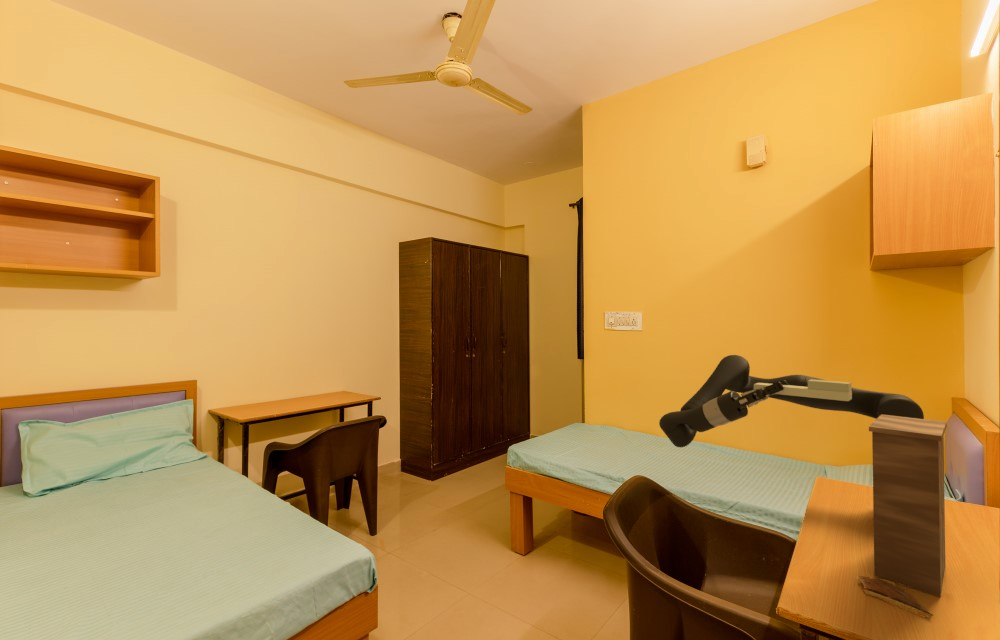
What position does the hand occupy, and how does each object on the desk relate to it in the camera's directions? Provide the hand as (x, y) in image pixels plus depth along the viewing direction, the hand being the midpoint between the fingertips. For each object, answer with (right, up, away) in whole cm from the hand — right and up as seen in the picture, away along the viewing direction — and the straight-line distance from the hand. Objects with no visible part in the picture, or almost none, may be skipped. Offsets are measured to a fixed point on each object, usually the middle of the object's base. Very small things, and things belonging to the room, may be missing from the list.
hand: (784, 384), depth 113 cm
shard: (+5, -39, -26) cm, 47 cm away
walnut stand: (+16, -38, -18) cm, 45 cm away
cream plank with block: (+2, -2, -3) cm, 4 cm away
